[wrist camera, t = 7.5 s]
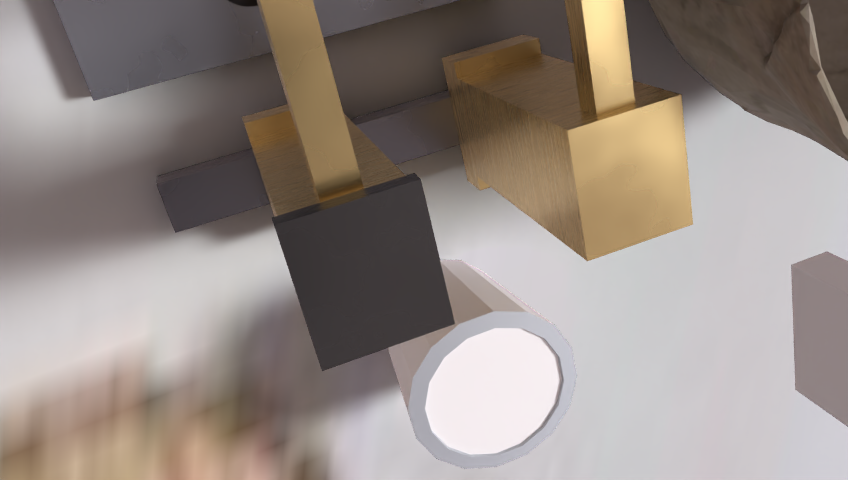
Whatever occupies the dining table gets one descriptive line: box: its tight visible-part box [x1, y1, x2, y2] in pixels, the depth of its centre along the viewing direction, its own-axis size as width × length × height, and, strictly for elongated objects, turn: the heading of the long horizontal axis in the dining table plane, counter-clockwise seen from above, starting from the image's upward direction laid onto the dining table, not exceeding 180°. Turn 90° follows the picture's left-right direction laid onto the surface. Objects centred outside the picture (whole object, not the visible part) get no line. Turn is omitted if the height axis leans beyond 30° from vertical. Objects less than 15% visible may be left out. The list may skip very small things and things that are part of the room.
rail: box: [157, 90, 460, 233], centre depth 31 cm, size 15×2×1 cm, turn 102°
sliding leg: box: [242, 0, 455, 371], centre depth 24 cm, size 4×12×11 cm, turn 12°
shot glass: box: [388, 259, 577, 469], centre depth 33 cm, size 7×7×7 cm
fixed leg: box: [442, 0, 693, 261], centre depth 26 cm, size 4×12×11 cm, turn 12°
